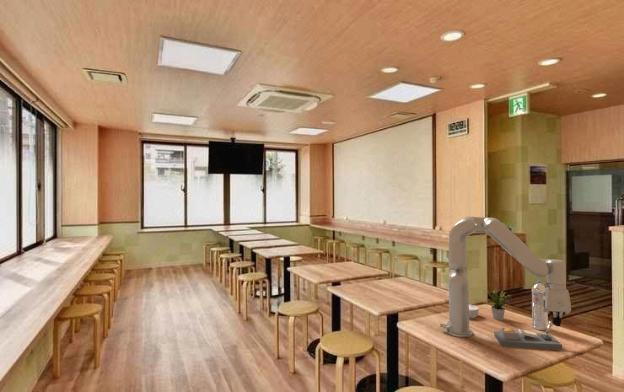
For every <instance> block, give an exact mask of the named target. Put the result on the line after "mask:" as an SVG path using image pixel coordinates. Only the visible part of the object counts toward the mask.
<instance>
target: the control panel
mask: <svg viewBox="0 0 624 392" xmlns="http://www.w3.org/2000/svg"><path fill="white" fill-rule="evenodd" d="M505 328H506V327H499V331H497V330H495V331H493V336H494V338H495V339H496V340H497V342H498V343H499V344H500V346H501V347H506V348H520V349H521V348H522V349H523V348H524V349H538V350H551V351H552V350H553V351H556V350H557V351H562V350H563V344H562V343H561V342H559V340H557V339H556V338H555V337H554V336H553V335H552V334H550V333H549V334H548V336H545V335H544V334H545V333H537V332H535V333H536V334H537V335H538V337H537V338H535V337H531V336H526V335H521V334H520V333H519V332H518V330H516V329H515V328H514V327H513V328H512V327H509V328H510V329H513V330H514V333H511V332H504V329H505Z"/></svg>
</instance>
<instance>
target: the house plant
mask: <svg viewBox="0 0 624 392" xmlns="http://www.w3.org/2000/svg"><path fill="white" fill-rule="evenodd" d="M498 294H499V295H498ZM505 294H507V292H504V290H501V292H500V293H498V291H497V290H494V289H493V292H492V293H490V292H488V295H489V297H490V298H491V299H492V300H491V299H490V298H489V299H488V298H486V299H485V300H486V301H490V302H491V306H490V309H491V314H492V318H493V319H494V320H496V321H503V320H504V318H505V311H506V308H505V307H503V306H504V305H505V306H508V304H509V300H507V299H508V297H511V294H508V295H506V296H505Z"/></svg>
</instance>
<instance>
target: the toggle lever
mask: <svg viewBox="0 0 624 392" xmlns="http://www.w3.org/2000/svg"><path fill="white" fill-rule="evenodd" d="M553 325H554V324H553V322H552V320H550V321H548V327H547V330H545V332H544V333H543V334H544V335H545V336H548V334H550V330H551V328H552V326H553Z"/></svg>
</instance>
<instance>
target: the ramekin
mask: <svg viewBox="0 0 624 392" xmlns="http://www.w3.org/2000/svg"><path fill="white" fill-rule="evenodd" d="M479 311H480V308H479V307H478V306H477V305H474V304H471V303H469V319H476V318H477V317H478V315H479Z"/></svg>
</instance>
